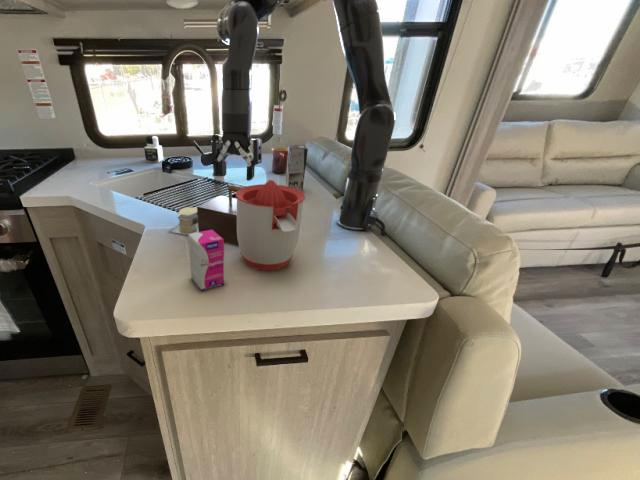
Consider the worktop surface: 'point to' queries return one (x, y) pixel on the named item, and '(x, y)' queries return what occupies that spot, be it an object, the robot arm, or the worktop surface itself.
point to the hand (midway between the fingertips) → (236, 177)
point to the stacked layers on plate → (187, 221)
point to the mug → (279, 159)
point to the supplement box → (206, 259)
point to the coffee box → (296, 166)
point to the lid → (222, 204)
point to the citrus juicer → (268, 224)
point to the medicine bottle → (153, 150)
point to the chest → (219, 225)
